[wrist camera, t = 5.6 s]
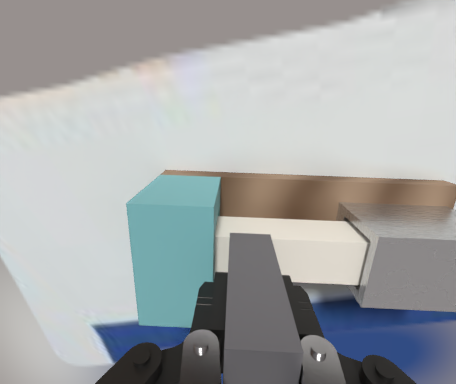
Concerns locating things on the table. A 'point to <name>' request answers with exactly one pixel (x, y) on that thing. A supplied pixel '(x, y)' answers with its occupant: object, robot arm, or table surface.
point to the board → (317, 194)
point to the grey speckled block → (405, 255)
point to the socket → (173, 246)
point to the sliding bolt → (277, 287)
